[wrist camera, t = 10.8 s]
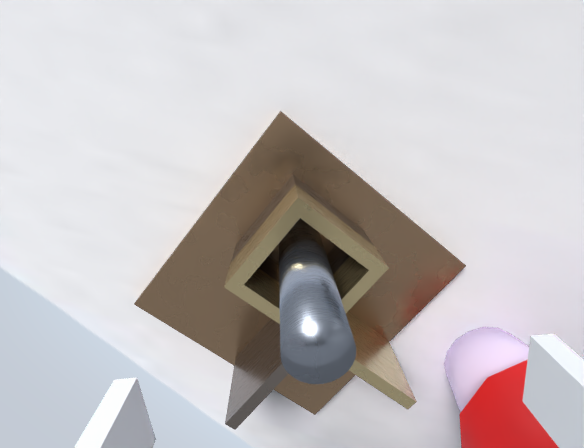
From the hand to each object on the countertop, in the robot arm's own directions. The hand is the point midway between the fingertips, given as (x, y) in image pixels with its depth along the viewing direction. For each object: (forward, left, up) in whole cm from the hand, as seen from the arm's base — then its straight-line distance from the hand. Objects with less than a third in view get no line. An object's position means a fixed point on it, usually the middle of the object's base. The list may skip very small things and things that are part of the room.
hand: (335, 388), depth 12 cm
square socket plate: (+3, +2, -16) cm, 17 cm away
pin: (0, 0, -15) cm, 15 cm away
